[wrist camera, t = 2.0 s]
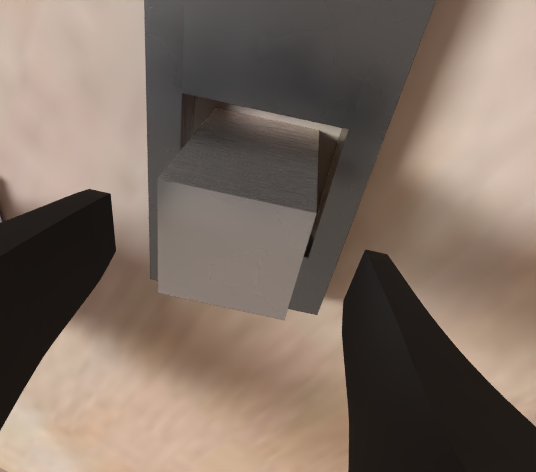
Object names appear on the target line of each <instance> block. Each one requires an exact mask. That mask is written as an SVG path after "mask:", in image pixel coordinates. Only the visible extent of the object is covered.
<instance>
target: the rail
mask: <svg viewBox="0 0 536 472" xmlns="http://www.w3.org/2000/svg"><path fill="white" fill-rule="evenodd" d="M435 1H436V0H144V10H145V55H146V101H147V146H148V191H149V236H150V279H153V280H157V281H158V205H157V179H158V177H159V176H160V175H161V174H162V173H163V171H164V170H165V169H166V168H167V166H168V165H169V164H170V163H171V162H172V160H173V159H174V158H175V157H176V156H177V154H178V153H179V152H180V151H181V149H182V148H183V147H184V146H185V145H186V143H187V142H188V141H189V140H190V138H191V137H192V136H193V122H194V103H195V96H197V97H202V98H207V99H211V100H216V101H220V102H225V103H230V104H234V105H239V106H244V107H248V108H253V109H257V110H262V111H267V112H271V113H276V114H280V115H285V116H290V117H294V118H299V119H304V120H308V121H313V122H317V123H322V124H327V125H331V126H336V127H340V128H342V130H341V133H340V137H339V140H338V143H337V147H336V150H335V153H334V156H333V160H332V163H331V166H330V170H329V173H328V176H327V180H326V183H325V186H324V190H323V193H322V196H321V200H320V203H319V206H318V210H317V213H316V217H315V220H314V223H313V227H312V230H311V233H310V237H309V240H308V243H307V247H306V250H305V253H304V256H303V260H302V263H301V266H300V270H299V273H298V276H297V280H296V283H295V286H294V290H293V293H292V296H291V300H290V303H289V306H288V309H292V310H296V311H301V312H305V313H310V314H315V315H317V314H318V311H319V309H320V306H321V304H322V301H323V298H324V296H325V293H326V290H327V288H328V285H329V282H330V280H331V277H332V274H333V272H334V269H335V266H336V264H337V261H338V258H339V256H340V253H341V250H342V248H343V245H344V243H345V240H346V237H347V235H348V232H349V229H350V227H351V224H352V221H353V219H354V216H355V213H356V211H357V208H358V205H359V203H360V200H361V197H362V195H363V192H364V190H365V187H366V184H367V182H368V179H369V176H370V174H371V171H372V168H373V166H374V163H375V160H376V158H377V155H378V152H379V150H380V147H381V144H382V142H383V139H384V136H385V134H386V131H387V129H388V126H389V123H390V121H391V118H392V115H393V113H394V110H395V107H396V105H397V102H398V99H399V97H400V94H401V91H402V89H403V86H404V83H405V81H406V78H407V75H408V73H409V70H410V68H411V65H412V62H413V60H414V57H415V54H416V52H417V49H418V46H419V44H420V41H421V38H422V36H423V33H424V30H425V28H426V25H427V22H428V20H429V17H430V14H431V12H432V9H433V7H434V4H435Z"/></svg>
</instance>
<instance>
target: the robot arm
mask: <svg viewBox="0 0 536 472" xmlns="http://www.w3.org/2000/svg"><path fill="white" fill-rule="evenodd" d="M115 252H116V246H115V236H114V225H113V214H112V204H111V194H109V193H105V192H100V191H96V190H91V189H88V190H85V191H81V192H78V193H76V194H73V195H70V196H68V197H65V198H63V199H60V200H58V201H55V202H53V203H50V204H48V205H45V206H43V207H40V208H37V209H35V210H32V211H30V212H27V213H25V214H22V215H20V216H17V217H15V218H12V219H9V220H7V221H4V222H2V220H1V216H0V430H1V428H2V426H3V425H4V423H5V421H6V419H7V418H8V416H9V414H10V412H11V410H12V409H13V407H14V405H15V403H16V402H17V400H18V398H19V396H20V395H21V393H22V391H23V389H24V388H25V386H26V384H27V383H28V381H29V380H30V378H31V376H32V375H33V373H34V371H35V370H36V368H37V366H38V365H39V363H40V361H41V360H42V358H43V357H44V355H45V354H46V352H47V351H48V349H49V348H50V346H51V345H52V344H53V342H54V341H55V340H56V338H57V337H58V336H59V334H60V333H61V332H62V330H63V329H64V328H65V326H66V325H67V324H68V322H69V321H70V320H71V318H72V317H73V316H74V314H75V313H76V312H77V310H78V309H79V308H80V306H81V305H82V304H83V302H84V301H85V300H86V298H87V297H88V296H89V294H90V293H91V292H92V290H93V289H94V288H95V286H96V285H97V283H98V282H99V281H100V279H101V277H102V276H103V274H104V272H105V270H106V269H107V267H108V265H109V263H110V261H111V259H112V257H113V255H114V254H115ZM342 340H343V353H344V364H345V376H346V387H347V398H348V411H349V472H536V427H535V426H534V425H533V424H532V423H531V422H530V421H529V420H528V419H527V418H526V417H525V416H524V415H522V414H521V413H520V412H519V411H518V410H517V409H516V408H515V407H514V406H513V405H512V404H511V403H510V402H508V401H507V400H506V399H505V398H504V397H503V396H502V395H501V394H500V393H499V392H498V391H497V390H496V389H495V388H494V387H493V386H492V385H491V384H490V383H489V382H488V381H487V380H486V379H485V378H484V377H483V375H482V374H481V373H480V372H479V371H478V370H477V369H476V368H475V367H474V366H473V365H472V364H471V363H470V362H469V361H468V360H467V359H466V357H465V356H464V355H463V354H462V353H461V352H460V351H459V349H458V348H457V347H456V346H455V345H454V344H453V342H452V341H451V340H450V339H449V338H448V336H447V335H446V334H445V333H444V331H443V330H442V329H441V328H440V327H439V325H438V324H437V323H436V321H435V320H434V319H433V318H432V316H431V315H430V314H429V312H428V311H427V310H426V308H425V307H424V306H423V304H422V303H421V302H420V300H419V299H418V298H417V296H416V295H415V293H414V292H413V291H412V289H411V288H410V286H409V285H408V283H407V282H406V281H405V279H404V278H403V276H402V275H401V273H400V272H399V270H398V269H397V268H396V266H395V265H394V263H393V262H392V260H391V259H390V258H389V256H388V255H387V254H383V253H378V252H374V251H369V250H365V252H364V254H363V256H362V259H361V261H360V263H359V266H358V268H357V270H356V273H355V275H354V277H353V280H352V282H351V284H350V287H349V289H348V291H347V294H346V296H345V298H344V301H343V318H342Z"/></svg>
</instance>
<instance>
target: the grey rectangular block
mask: <svg viewBox="0 0 536 472" xmlns="http://www.w3.org/2000/svg"><path fill="white" fill-rule="evenodd" d="M318 151H319V130H315V129H311V128H306V127H301V126H297V125H292V124H288V123H283V122H278V121H274V120H269V119H264V118H260V117H255V116H251V115H246V114H241V113H237V112H232V111H228V110H223V109H218V108H215V109H214V110H213V112H212V113H211V114H210V115H209V117H208V118H207V119H206V120H205V121H204V123H203V124H202V125H201V126H200V127H199V129H198V130H197V131H196V132H195V134H194V135H193V136H192V137H191V138H190V140H189V141H188V142H187V143H186V145H185V146H184V147H183V148H182V149H181V151H180V152H179V153H178V154H177V156H176V157H175V158H174V159H173V160H172V162H171V163H170V164H169V165H168V166H167V168H166V169H165V170H164V171H163V173H162V174H161V175H160V176H159V177H158V179H157V205H158V293H161V294H165V295H170V296H175V297H179V298H184V299H188V300H193V301H198V302H202V303H207V304H212V305H216V306H221V307H225V308H230V309H235V310H239V311H244V312H248V313H253V314H258V315H262V316H267V317H272V318H276V319H281V320H284V319H285V316H286V313H287V309H288V306H289V303H290V300H291V296H292V293H293V290H294V286H295V283H296V280H297V276H298V273H299V270H300V266H301V263H302V260H303V256H304V253H305V250H306V247H307V243H308V240H309V237H310V233H311V230H312V227H313V223H314V220H315V217H316V213H317V182H318Z"/></svg>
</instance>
